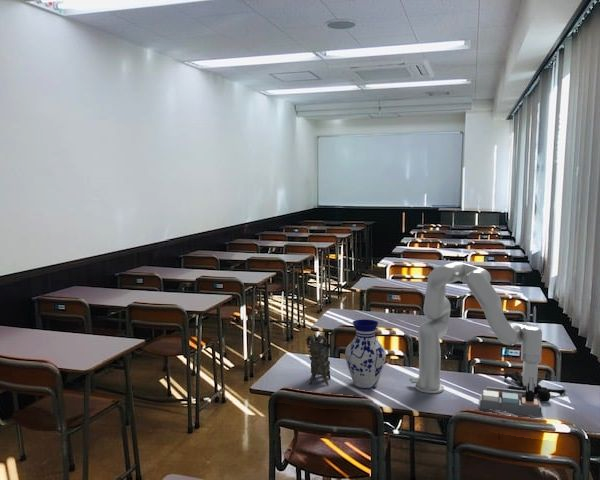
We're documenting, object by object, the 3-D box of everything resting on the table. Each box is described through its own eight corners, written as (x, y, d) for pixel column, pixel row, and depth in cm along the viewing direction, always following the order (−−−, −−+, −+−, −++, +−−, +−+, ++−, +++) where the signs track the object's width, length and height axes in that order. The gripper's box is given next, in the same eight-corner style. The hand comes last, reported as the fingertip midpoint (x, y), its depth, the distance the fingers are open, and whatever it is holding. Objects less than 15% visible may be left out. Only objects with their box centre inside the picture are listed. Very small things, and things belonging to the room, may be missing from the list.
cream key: (483, 402, 213) (483, 395, 213) (483, 396, 219) (483, 389, 218) (498, 403, 211) (498, 396, 211) (498, 398, 216) (498, 391, 216)
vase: (386, 393, 230) (386, 328, 227) (344, 391, 232) (344, 327, 230) (384, 378, 249) (385, 318, 246) (345, 377, 251) (345, 317, 248)
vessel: (305, 391, 233) (302, 338, 233) (313, 376, 258) (311, 328, 257) (328, 391, 231) (326, 337, 231) (334, 376, 256) (332, 327, 256)
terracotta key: (522, 409, 208) (522, 402, 208) (521, 404, 213) (521, 397, 213) (538, 411, 206) (538, 404, 205) (537, 406, 211) (537, 399, 211)
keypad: (479, 408, 213) (479, 394, 212) (479, 398, 223) (480, 385, 223) (542, 416, 204) (542, 402, 204) (540, 405, 215) (540, 392, 214)
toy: (480, 380, 244) (515, 402, 214) (482, 365, 244) (518, 385, 214) (535, 384, 248) (577, 407, 219) (537, 369, 248) (579, 390, 218)
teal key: (502, 404, 210) (502, 397, 210) (502, 399, 216) (502, 392, 216) (518, 406, 208) (518, 399, 208) (517, 400, 214) (517, 393, 214)
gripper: (520, 350, 216) (518, 392, 218) (522, 361, 202) (520, 406, 204) (539, 352, 213) (538, 395, 215) (542, 363, 199) (541, 409, 201)
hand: (529, 400), depth 209 cm, fingers closed
